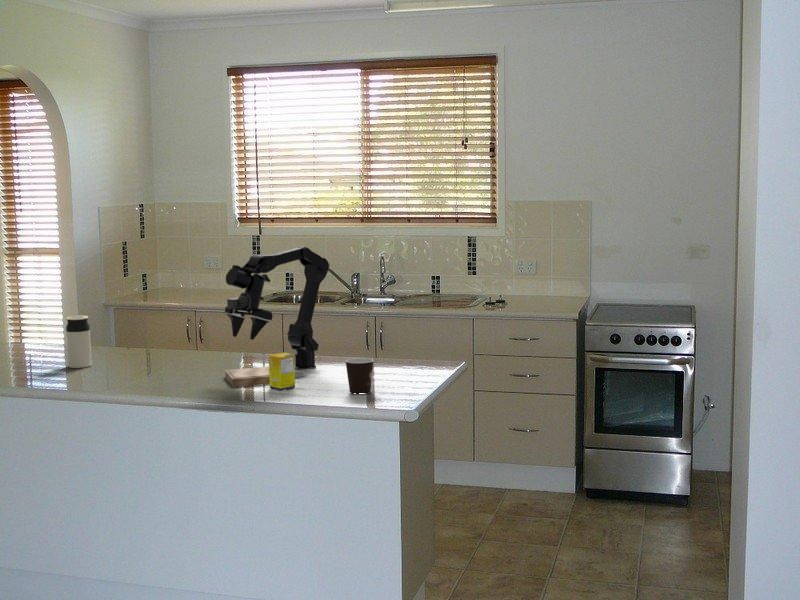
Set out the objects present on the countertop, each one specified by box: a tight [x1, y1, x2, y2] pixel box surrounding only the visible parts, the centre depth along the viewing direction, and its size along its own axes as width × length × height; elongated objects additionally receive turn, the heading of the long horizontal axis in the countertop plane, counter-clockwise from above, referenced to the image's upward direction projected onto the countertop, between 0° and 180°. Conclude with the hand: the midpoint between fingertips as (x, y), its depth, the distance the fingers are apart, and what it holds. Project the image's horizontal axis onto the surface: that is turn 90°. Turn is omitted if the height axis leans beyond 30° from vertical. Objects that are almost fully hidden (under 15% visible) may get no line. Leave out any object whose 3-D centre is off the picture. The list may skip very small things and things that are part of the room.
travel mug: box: [65, 315, 93, 369], centre depth 343 cm, size 8×8×18 cm
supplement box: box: [268, 352, 296, 392], centre depth 303 cm, size 6×6×11 cm
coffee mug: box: [345, 357, 374, 395], centre depth 297 cm, size 12×9×10 cm
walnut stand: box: [224, 366, 270, 388], centre depth 316 cm, size 16×16×3 cm
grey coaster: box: [295, 371, 305, 379], centre depth 321 cm, size 9×9×1 cm
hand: (242, 338), depth 315 cm, fingers open, 9 cm apart
